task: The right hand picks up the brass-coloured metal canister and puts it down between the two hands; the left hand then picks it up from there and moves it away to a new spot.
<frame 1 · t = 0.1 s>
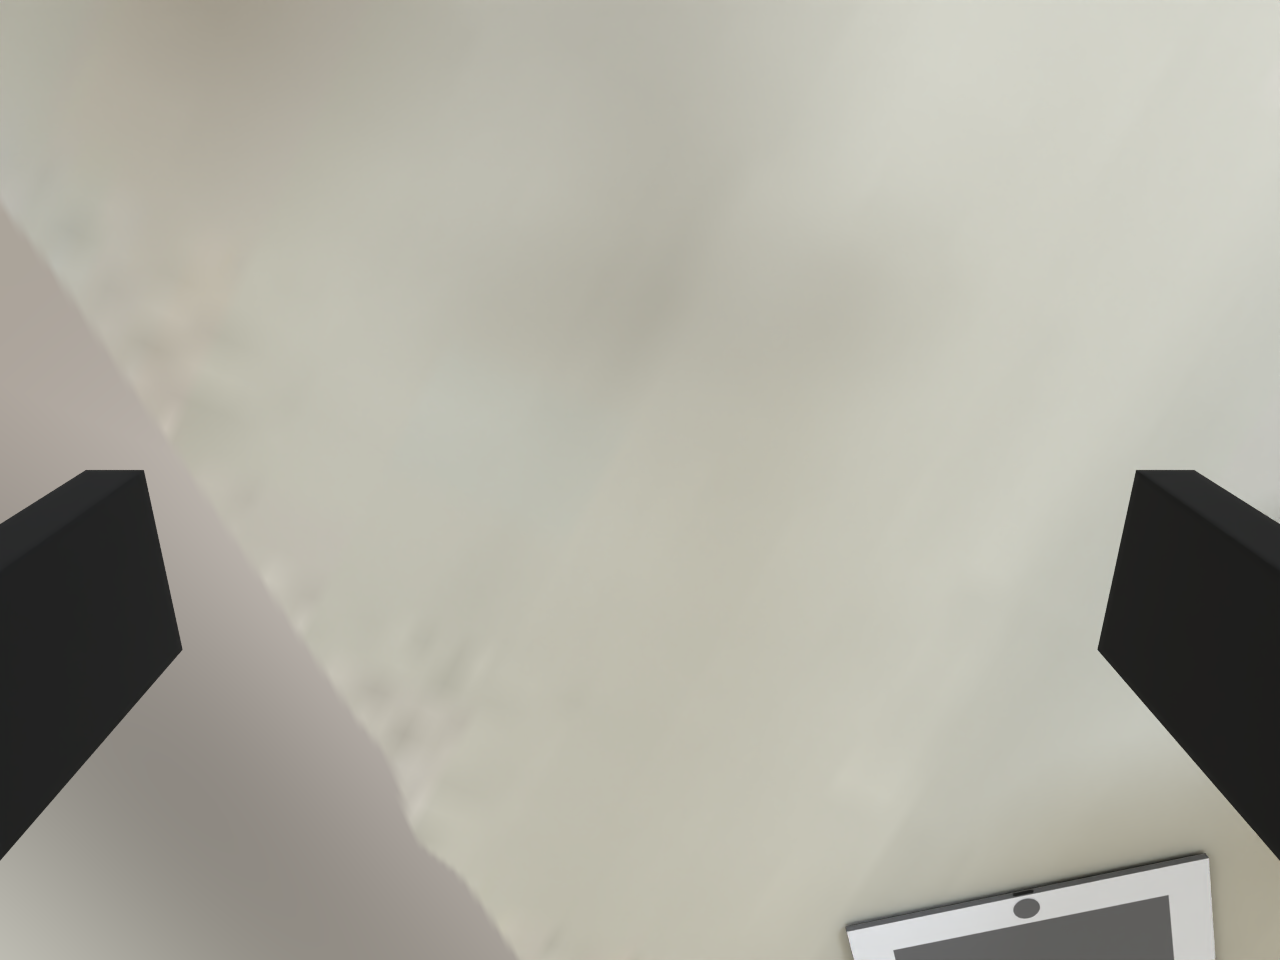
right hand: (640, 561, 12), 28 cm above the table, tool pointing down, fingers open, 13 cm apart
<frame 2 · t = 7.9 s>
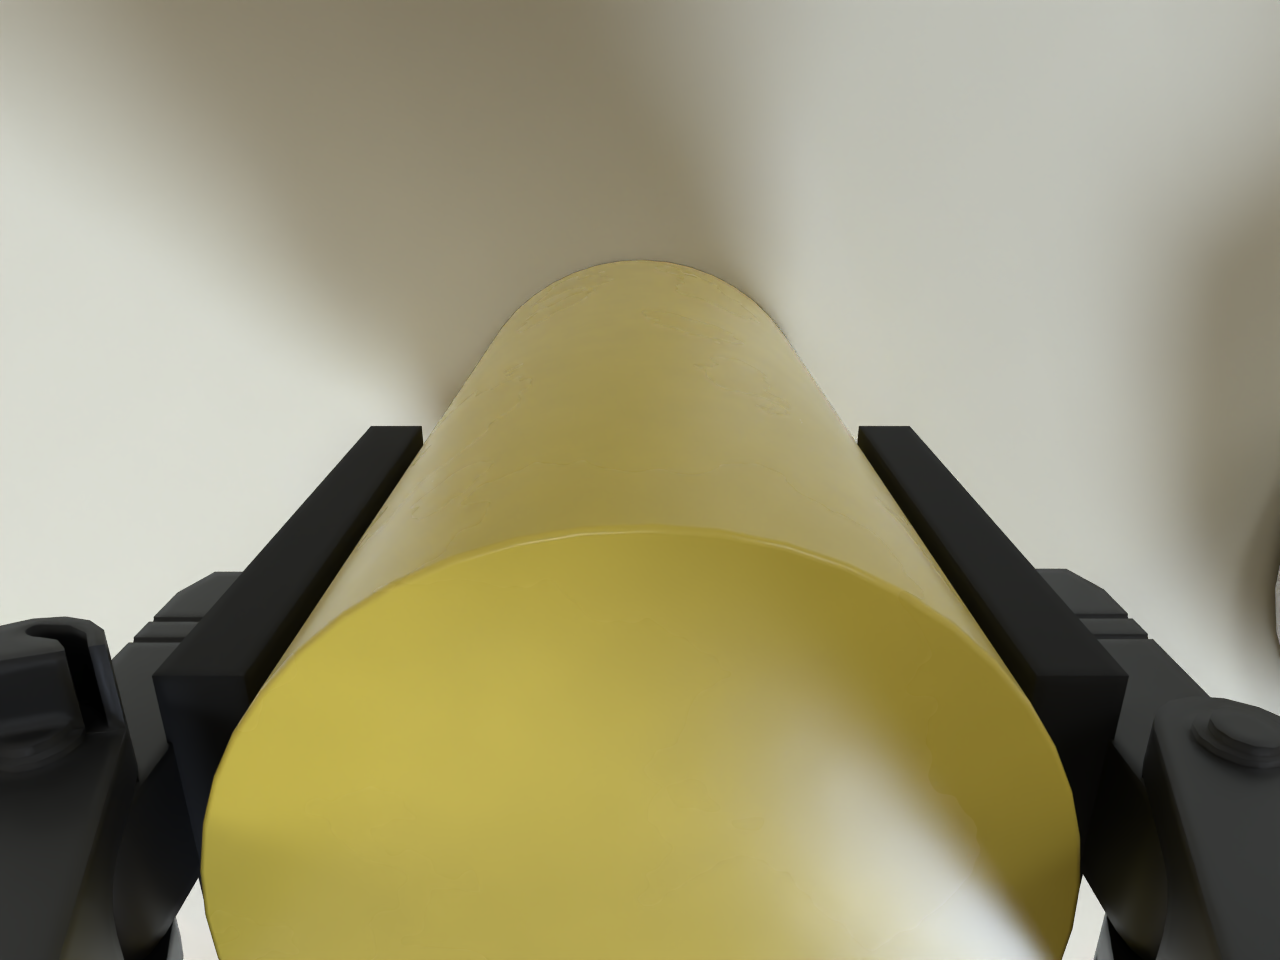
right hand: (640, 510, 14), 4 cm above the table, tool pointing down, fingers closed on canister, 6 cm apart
canister: (640, 432, 17), on the table, touching right hand
when the right hand's fingers open (5 cm above the table, at t = 19.1 s): canister drops 1 cm, on the table.
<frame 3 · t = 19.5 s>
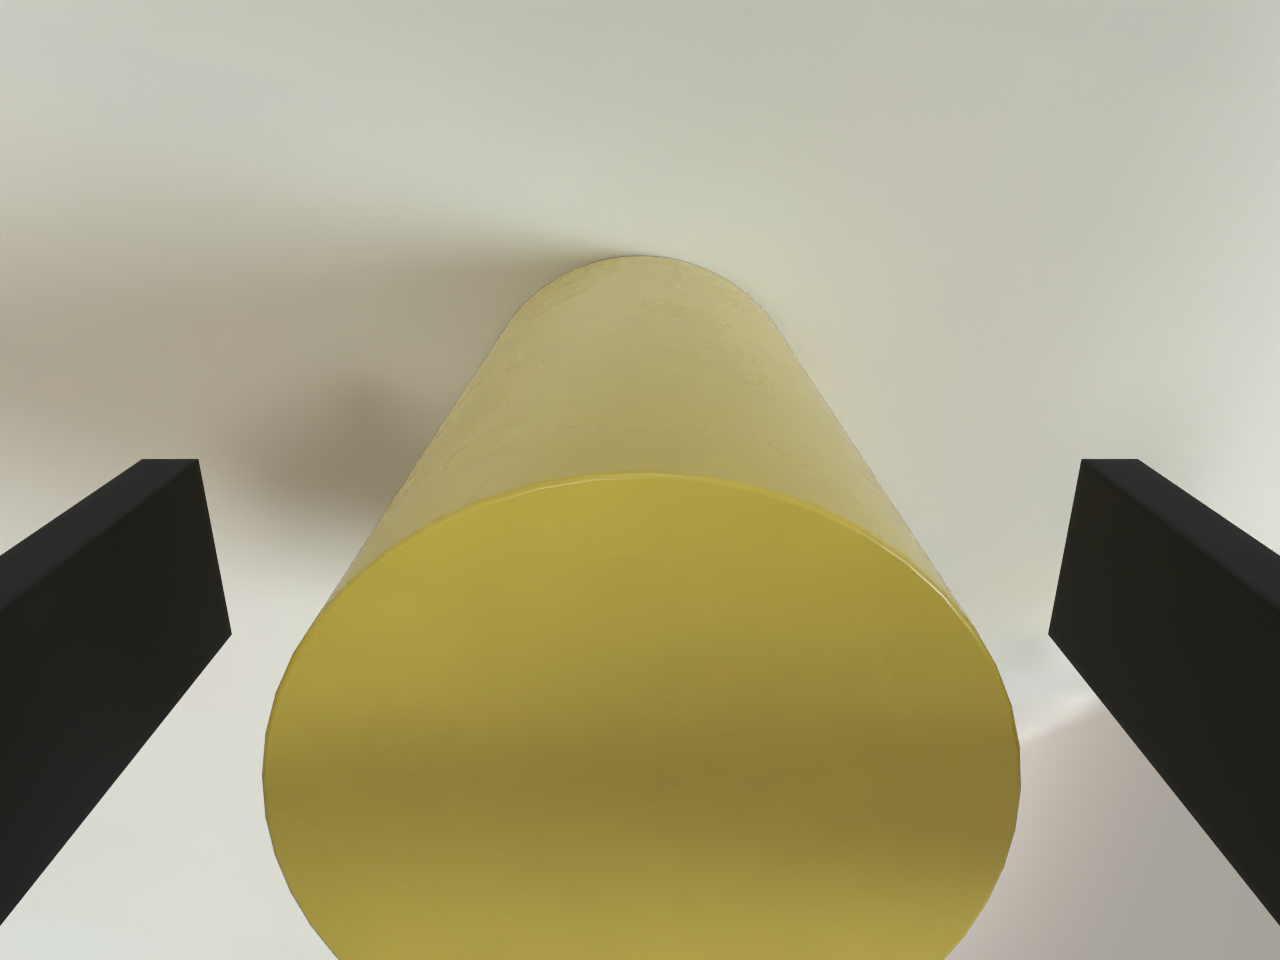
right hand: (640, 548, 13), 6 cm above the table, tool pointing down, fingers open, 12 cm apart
canister: (640, 418, 18), on the table
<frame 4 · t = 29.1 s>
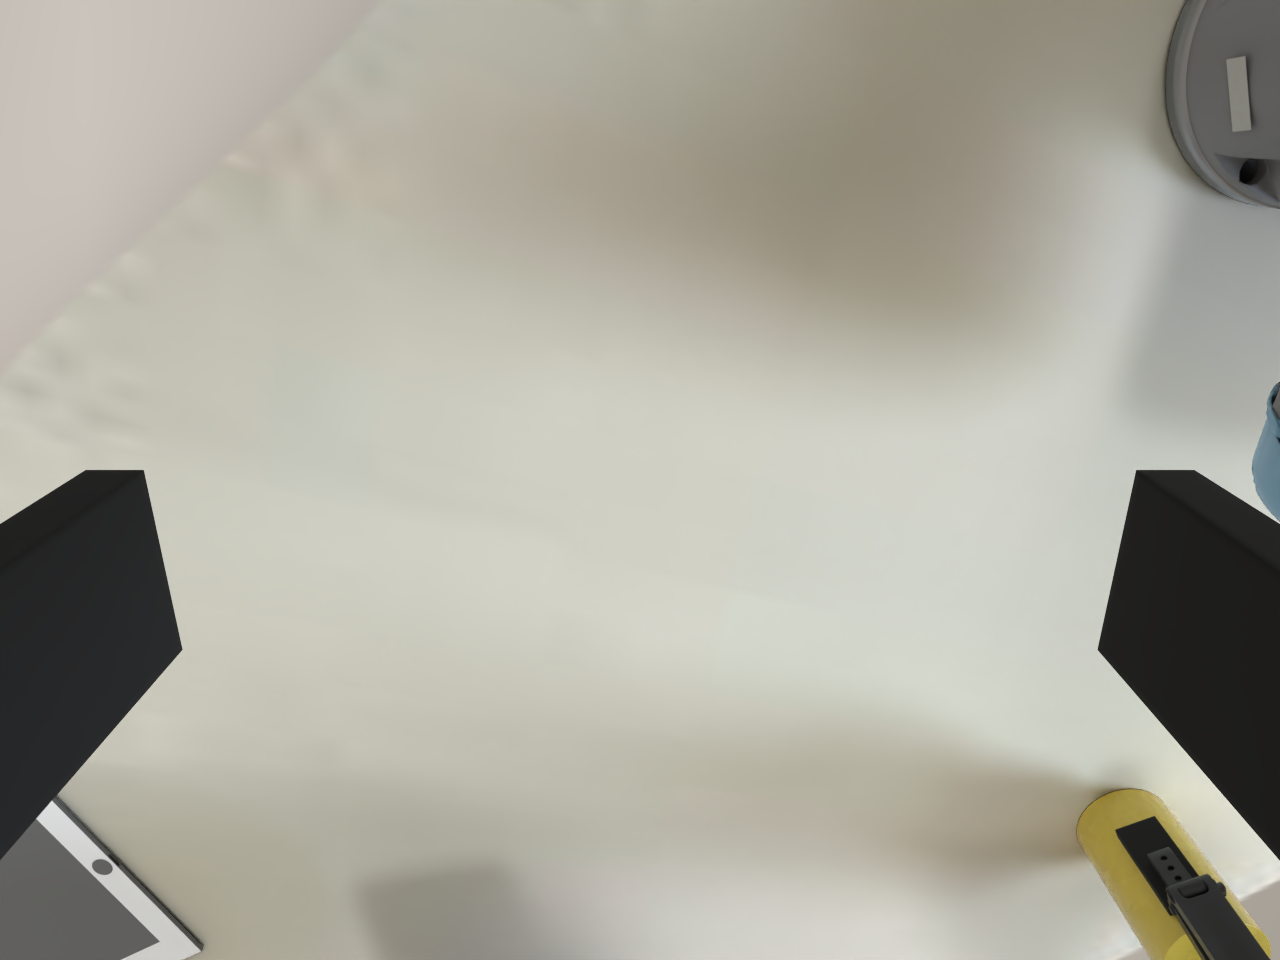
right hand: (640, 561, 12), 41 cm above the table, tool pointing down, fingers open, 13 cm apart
canister: (1122, 825, 65), on the table, touching left hand
when the left hand's fingers open (5 cm above the table, at t = 36.1 s): canister drops 1 cm, on the table.
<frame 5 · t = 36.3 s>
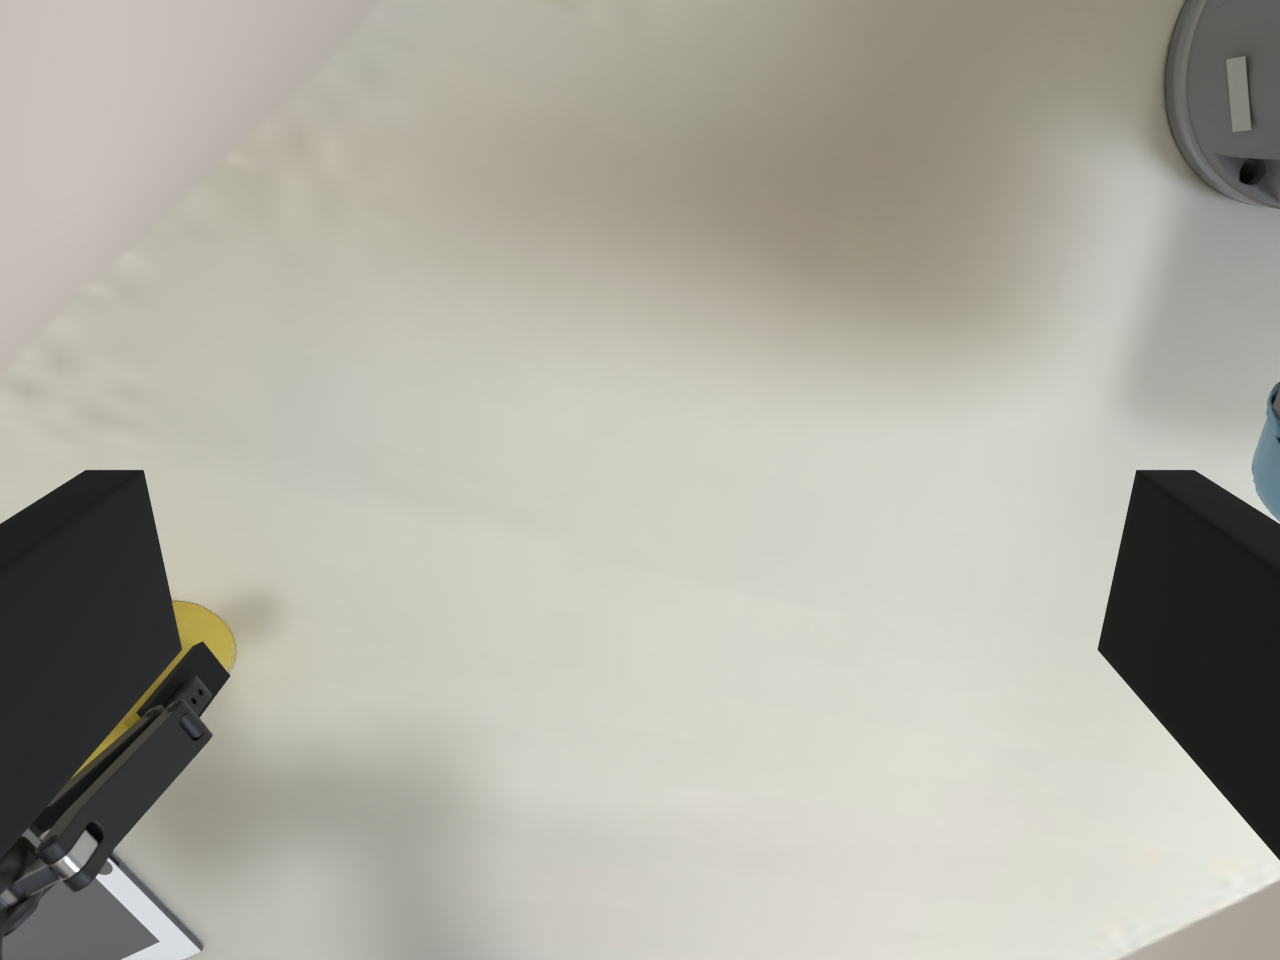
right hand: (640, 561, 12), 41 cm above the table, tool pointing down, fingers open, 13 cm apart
canister: (186, 644, 60), on the table
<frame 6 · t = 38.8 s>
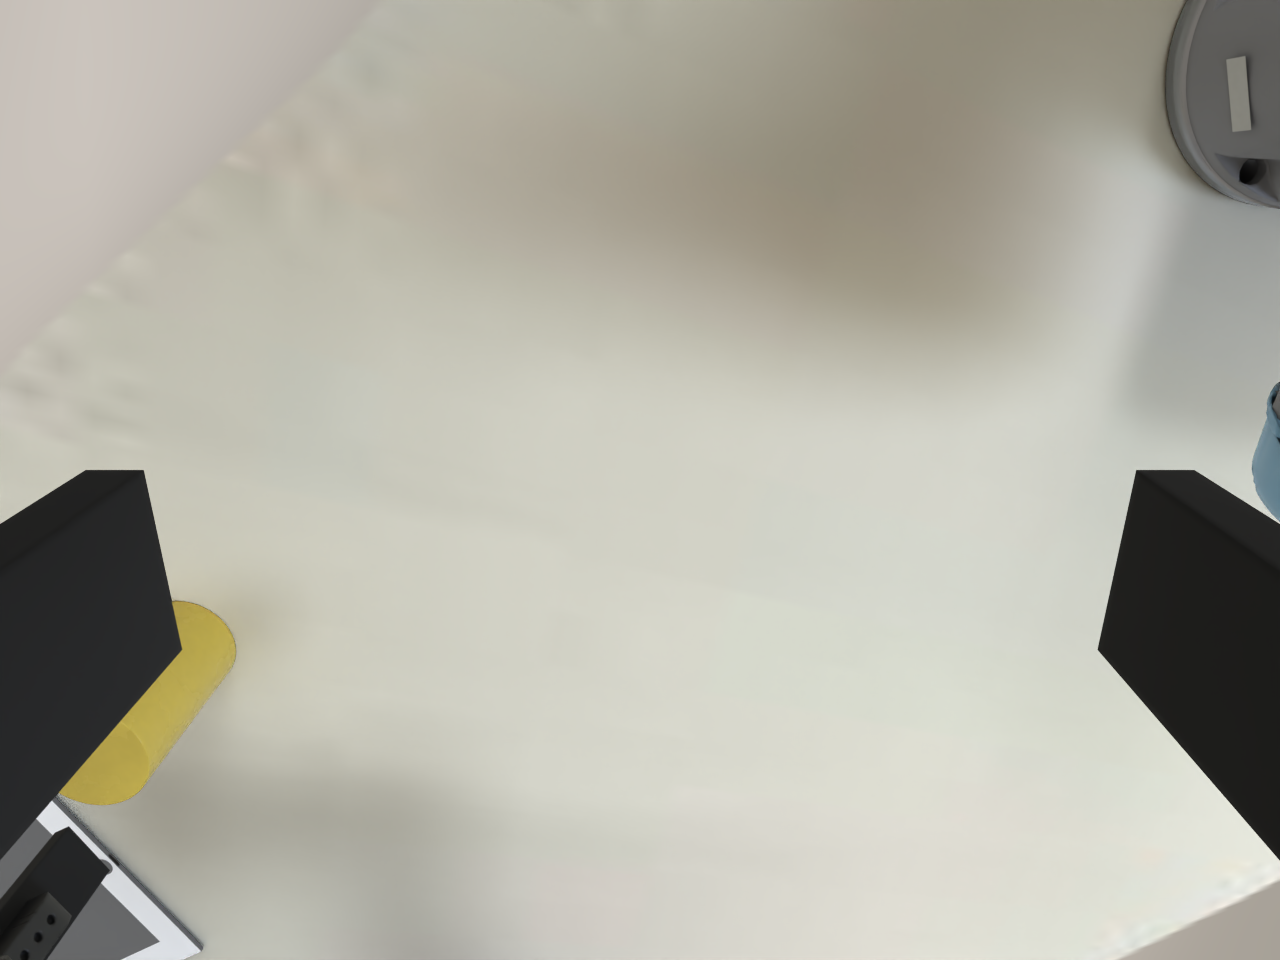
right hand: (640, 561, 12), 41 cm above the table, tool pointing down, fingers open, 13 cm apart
canister: (186, 644, 60), on the table
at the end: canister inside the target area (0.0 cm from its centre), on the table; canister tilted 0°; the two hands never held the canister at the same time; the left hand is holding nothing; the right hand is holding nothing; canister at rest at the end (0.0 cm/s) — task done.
